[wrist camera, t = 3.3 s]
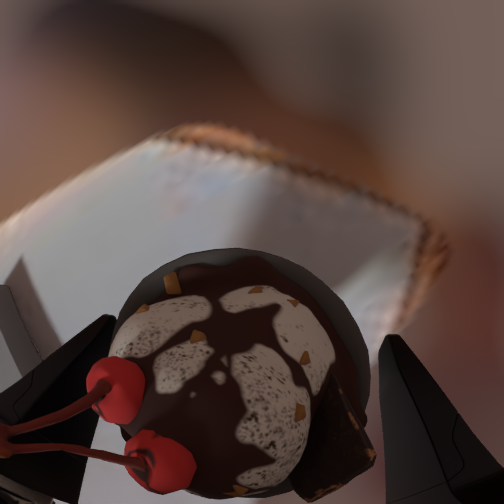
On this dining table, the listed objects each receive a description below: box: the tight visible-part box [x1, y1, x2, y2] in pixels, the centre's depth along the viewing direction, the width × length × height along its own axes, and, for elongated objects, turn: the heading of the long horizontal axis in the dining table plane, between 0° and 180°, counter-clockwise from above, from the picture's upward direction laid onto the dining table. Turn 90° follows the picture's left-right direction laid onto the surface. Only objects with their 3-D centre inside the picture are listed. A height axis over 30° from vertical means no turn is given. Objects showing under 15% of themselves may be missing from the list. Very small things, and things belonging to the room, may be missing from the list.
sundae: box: [0, 248, 377, 503], centre depth 9 cm, size 7×7×15 cm
